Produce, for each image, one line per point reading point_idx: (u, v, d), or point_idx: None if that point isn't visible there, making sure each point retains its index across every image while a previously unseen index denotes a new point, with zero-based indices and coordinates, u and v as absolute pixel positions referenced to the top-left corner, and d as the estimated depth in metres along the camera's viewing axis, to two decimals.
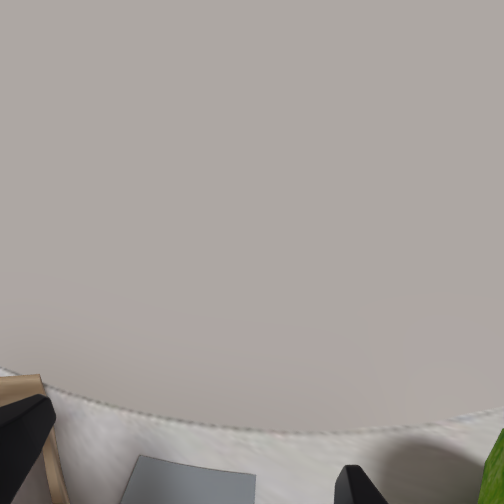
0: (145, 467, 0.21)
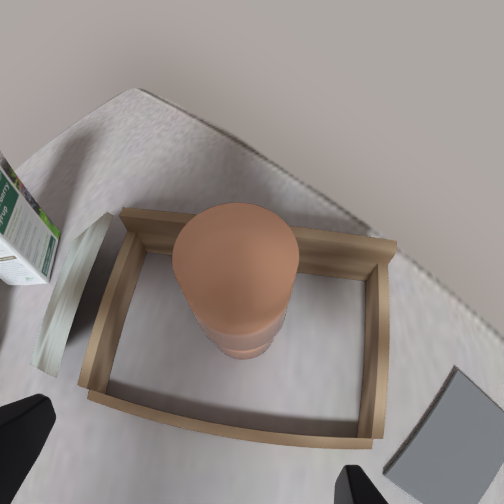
0: (457, 388, 0.19)
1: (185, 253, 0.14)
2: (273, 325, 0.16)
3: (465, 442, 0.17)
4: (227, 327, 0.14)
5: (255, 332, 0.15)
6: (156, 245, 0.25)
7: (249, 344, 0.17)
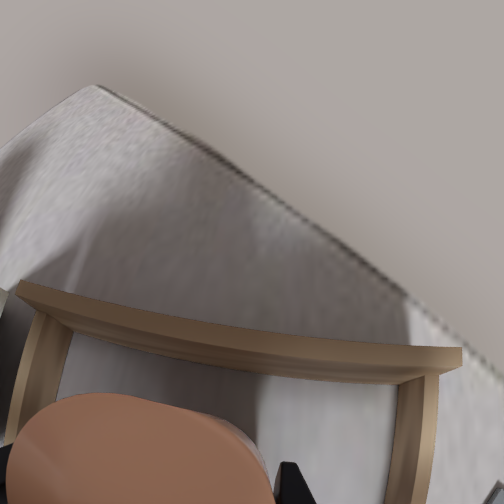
0: None
1: (26, 500, 0.03)
2: None
3: None
4: None
5: None
6: (79, 329, 0.15)
7: None
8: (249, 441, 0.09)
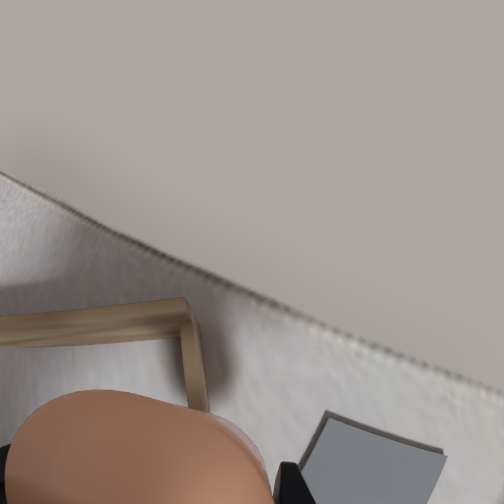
0: (332, 439, 0.17)
1: (25, 498, 0.03)
2: None
3: (361, 494, 0.15)
4: None
5: None
6: None
7: None
8: (248, 439, 0.09)
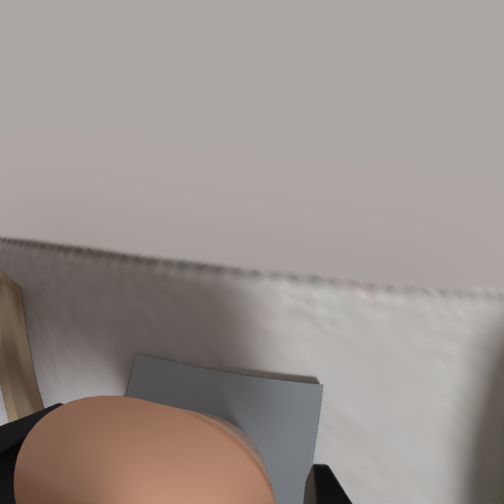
0: (144, 379, 0.15)
1: (34, 500, 0.04)
2: None
3: None
4: None
5: None
6: None
7: None
8: (250, 441, 0.09)
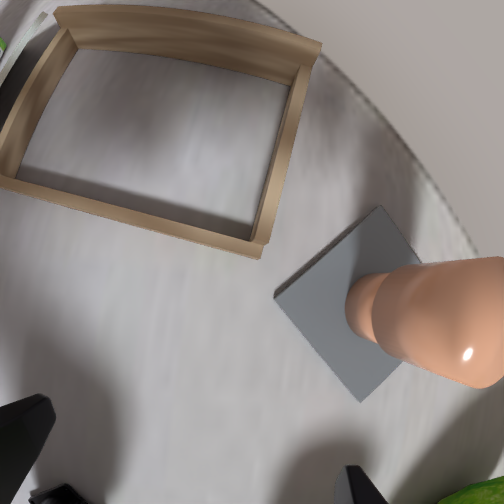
0: (376, 225, 0.21)
1: (473, 291, 0.10)
2: None
3: None
4: (430, 365, 0.11)
5: None
6: (85, 40, 0.19)
7: (402, 360, 0.14)
8: None
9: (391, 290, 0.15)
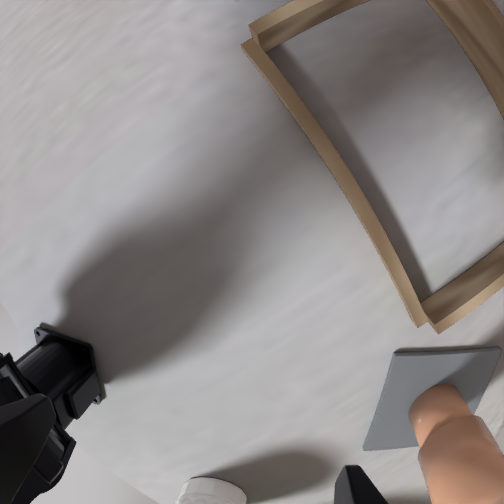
0: (487, 360, 0.19)
1: (493, 491, 0.09)
2: None
3: None
4: (436, 497, 0.12)
5: None
6: None
7: (422, 469, 0.15)
8: None
9: (462, 432, 0.14)
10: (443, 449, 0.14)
